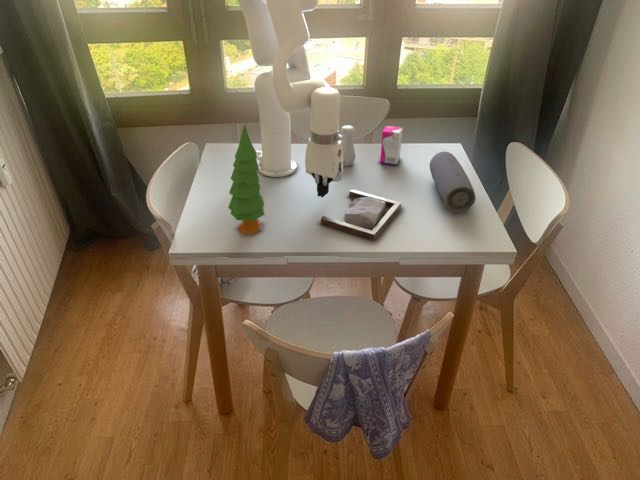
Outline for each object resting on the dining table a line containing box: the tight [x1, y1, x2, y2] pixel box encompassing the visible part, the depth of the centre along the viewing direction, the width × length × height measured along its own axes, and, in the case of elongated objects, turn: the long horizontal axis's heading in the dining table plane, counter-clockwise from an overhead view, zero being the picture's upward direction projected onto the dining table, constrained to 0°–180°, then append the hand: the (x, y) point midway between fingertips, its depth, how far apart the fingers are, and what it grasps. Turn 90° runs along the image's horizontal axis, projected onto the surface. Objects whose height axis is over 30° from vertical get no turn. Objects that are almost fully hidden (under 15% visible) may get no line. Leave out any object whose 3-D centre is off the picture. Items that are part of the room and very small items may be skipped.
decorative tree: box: [227, 124, 266, 236], centre depth 125 cm, size 10×9×30 cm
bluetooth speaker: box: [429, 151, 476, 213], centre depth 146 cm, size 23×9×10 cm, turn 1°
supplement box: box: [379, 125, 404, 166], centre depth 165 cm, size 6×6×12 cm
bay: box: [320, 188, 402, 242], centre depth 139 cm, size 16×19×2 cm
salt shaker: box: [340, 125, 356, 167], centre depth 163 cm, size 6×6×13 cm
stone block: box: [344, 197, 387, 230], centre depth 138 cm, size 12×5×10 cm
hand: (322, 194), depth 143 cm, fingers closed
